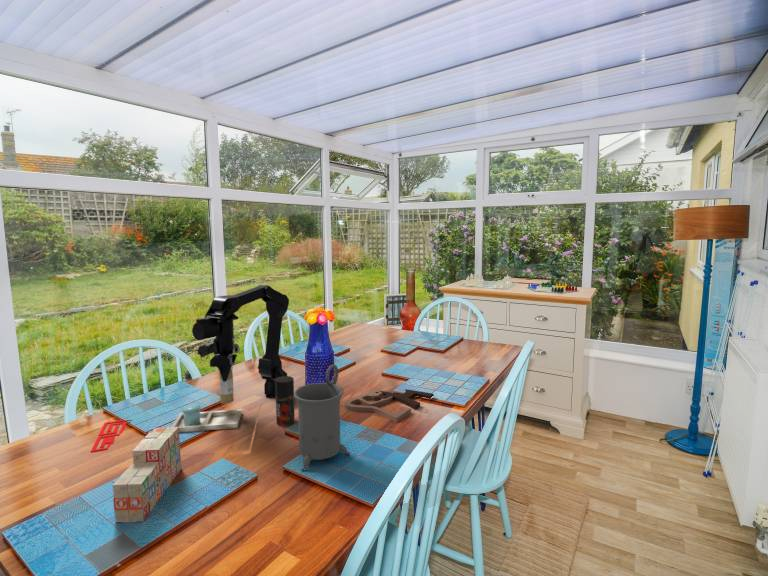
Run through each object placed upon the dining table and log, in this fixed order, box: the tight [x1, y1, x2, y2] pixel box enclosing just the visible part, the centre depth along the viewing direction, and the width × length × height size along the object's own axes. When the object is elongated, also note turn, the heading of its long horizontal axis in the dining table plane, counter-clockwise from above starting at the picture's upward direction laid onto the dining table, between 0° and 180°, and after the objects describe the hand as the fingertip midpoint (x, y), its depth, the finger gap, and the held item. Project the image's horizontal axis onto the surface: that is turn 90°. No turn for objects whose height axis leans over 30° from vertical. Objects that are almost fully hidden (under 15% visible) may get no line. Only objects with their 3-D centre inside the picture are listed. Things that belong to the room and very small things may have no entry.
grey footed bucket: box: [294, 364, 351, 471], centre depth 121 cm, size 19×15×25 cm
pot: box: [181, 403, 201, 426], centre depth 139 cm, size 5×5×6 cm
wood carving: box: [342, 388, 435, 423], centre depth 160 cm, size 28×2×24 cm
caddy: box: [170, 408, 243, 433], centre depth 141 cm, size 20×11×2 cm, turn 101°
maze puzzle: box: [90, 419, 128, 453], centre depth 137 cm, size 20×20×1 cm
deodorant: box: [275, 375, 296, 427], centre depth 142 cm, size 6×6×15 cm
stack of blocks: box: [112, 426, 182, 523], centre depth 104 cm, size 21×6×12 cm, turn 4°
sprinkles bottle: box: [217, 364, 234, 405], centre depth 146 cm, size 5×5×13 cm
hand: (226, 379), depth 145 cm, fingers closed on sprinkles bottle, 4 cm apart
